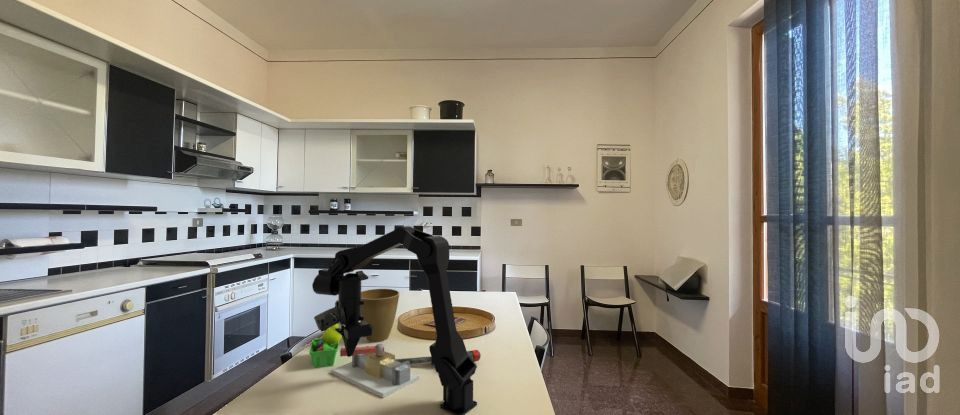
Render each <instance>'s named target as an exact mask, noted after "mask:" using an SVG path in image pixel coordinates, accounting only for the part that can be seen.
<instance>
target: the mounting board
mask: <svg viewBox="0 0 960 415" xmlns="http://www.w3.org/2000/svg"><path fill="white" fill-rule="evenodd" d="M331 374H333V375H335V376H337V377H339V378H341V379H343V380H345V381H347V382H349V383H351V384H354V385H356V387H360V388H362V389H364V390H366V391H368V392H370V393H372V394H374V395H377V396H379V397H381V398H383V399H384V398H386V397H388V396H390V395H392V394H394V393H395V392H398V391H399V389H400V390H401V389H403V388H405V387H407V386H409V385H411V384H413V383H415V382H417V381H418V380H420V375H419V374H416V373H413V372H411V371H410V381H408V382H406V383H404V384H402V385H398V384H397V385H392V382H391V381H388V380H386V379H384V378H380V379H379V378H376V377H374V376H372V375H369V374H367V373H365V370H363V369H360V368H358V367H355V368H353V367H352V361H351V362H347V363H345V364H343V365H340V366H338V367H334V368H333V369H331Z"/></svg>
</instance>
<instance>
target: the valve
mask: <svg viewBox="0 0 960 415" xmlns="http://www.w3.org/2000/svg"><path fill="white" fill-rule="evenodd" d="M467 354H468V356H469V357H470V358H471V359H472V360H473V362H474V363H475V362H478V361H480V359H481V357H482V354H481V352H480V351H479V350H478V349H473V350H468V351H467ZM407 360H408V361H410V365H415V364H416V365H417V364H427V363H430V364H431V361H432V357H431V356H420V357H419V356H418V357H408V358H395V361H397V362H400V363H403V362H405V361H407ZM431 365H432V366H433V367H434V363H433V364H431Z"/></svg>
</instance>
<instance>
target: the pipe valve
mask: <svg viewBox="0 0 960 415" xmlns="http://www.w3.org/2000/svg"><path fill="white" fill-rule="evenodd" d="M365 347H368V345H367V346H365ZM395 359H396V355H395V354H393V353H389V352H387V351H385V350H384V355H382V356H377V355H376V353H367V354H355V355H352V356H351V362H352V367H353V368H355V367H358V368H360V369H363V370H365V373H367V374H369V375H372V376H374V377H376V378H379V379H380V378H384V379H386V380H388V381H391V382H392V385H397V384H398V385H402V384H404V383H406V382H408V381H410V372H411V364H410V361H408V360H407V361H405V362H403V363H400V362H397V361H395Z"/></svg>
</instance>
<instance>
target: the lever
mask: <svg viewBox="0 0 960 415" xmlns="http://www.w3.org/2000/svg"><path fill="white" fill-rule="evenodd" d="M367 346H368V345H367ZM384 351H385V344H384V343H376V345H372V346H371V345H369V346H368V347H366V346H360V347H359V346H358V347H357V346H356V348H355V351H354V353H353V355H355V354H367V353H376V355H377V356H382V355H384ZM339 353H340V354H339V357H348V356H347V353H346V349H345V347H341V348H340V351H339Z"/></svg>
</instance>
